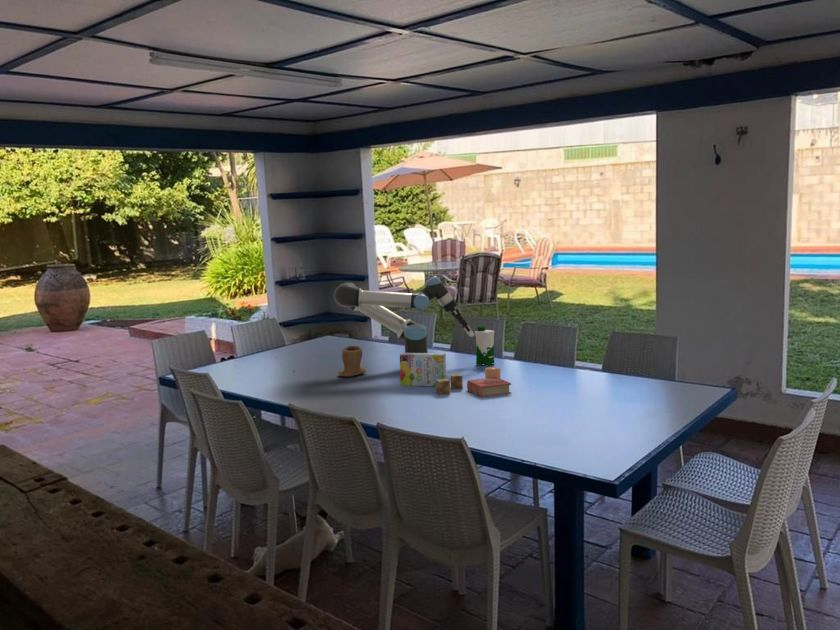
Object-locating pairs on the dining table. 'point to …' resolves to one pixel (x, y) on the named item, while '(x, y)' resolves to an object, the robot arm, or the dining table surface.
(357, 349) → the orange vase
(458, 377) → the block
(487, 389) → the book
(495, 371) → the tan rounded glossy cylinder
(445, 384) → the block
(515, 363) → the dining table surface
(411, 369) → the snack box
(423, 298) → the robot arm
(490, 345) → the milk carton
